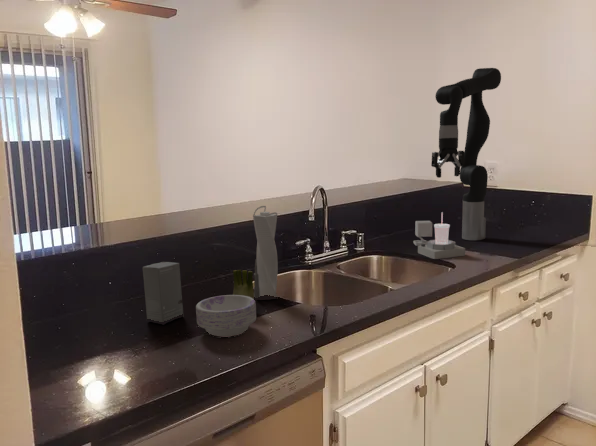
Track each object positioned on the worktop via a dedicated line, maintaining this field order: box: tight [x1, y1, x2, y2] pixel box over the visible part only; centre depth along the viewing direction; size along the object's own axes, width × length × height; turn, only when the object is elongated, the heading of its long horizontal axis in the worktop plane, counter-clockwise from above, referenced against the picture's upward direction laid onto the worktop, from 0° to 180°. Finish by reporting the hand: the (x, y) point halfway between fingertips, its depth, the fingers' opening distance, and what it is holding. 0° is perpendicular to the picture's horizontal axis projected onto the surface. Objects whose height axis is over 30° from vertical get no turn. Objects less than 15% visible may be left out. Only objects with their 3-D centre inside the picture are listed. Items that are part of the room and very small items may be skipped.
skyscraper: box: [252, 205, 279, 298], centre depth 168 cm, size 8×8×28 cm
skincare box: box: [142, 261, 184, 322], centre depth 151 cm, size 8×7×16 cm
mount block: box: [417, 239, 466, 260], centre depth 219 cm, size 14×12×5 cm
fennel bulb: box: [232, 269, 254, 299], centre depth 157 cm, size 6×5×12 cm
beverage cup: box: [433, 211, 451, 244], centre depth 218 cm, size 6×6×14 cm
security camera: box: [413, 220, 433, 247], centre depth 239 cm, size 6×7×10 cm
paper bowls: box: [195, 294, 257, 336], centre depth 141 cm, size 15×15×8 cm
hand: (447, 176), depth 225 cm, fingers open, 8 cm apart
